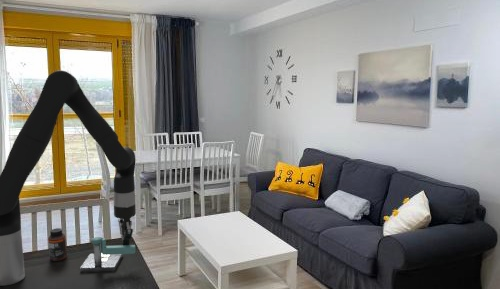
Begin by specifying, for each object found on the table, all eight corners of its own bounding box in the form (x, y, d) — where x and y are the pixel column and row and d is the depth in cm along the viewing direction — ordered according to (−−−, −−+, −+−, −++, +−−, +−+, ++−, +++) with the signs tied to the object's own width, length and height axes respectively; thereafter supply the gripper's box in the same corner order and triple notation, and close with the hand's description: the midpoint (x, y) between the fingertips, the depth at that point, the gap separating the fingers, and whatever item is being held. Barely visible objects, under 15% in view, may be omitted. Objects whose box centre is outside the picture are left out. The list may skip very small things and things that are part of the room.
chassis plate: (79, 272, 141) (78, 245, 140) (90, 257, 153) (89, 232, 151) (114, 271, 142) (113, 244, 141) (122, 256, 154) (121, 231, 152)
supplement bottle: (62, 253, 156) (60, 225, 154) (69, 257, 152) (68, 229, 151) (46, 258, 152) (44, 230, 150) (54, 263, 148) (52, 234, 146)
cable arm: (93, 251, 144) (92, 237, 143) (135, 250, 145) (135, 236, 145) (90, 256, 140) (89, 241, 139) (133, 255, 141) (133, 240, 141)
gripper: (110, 199, 147) (111, 243, 150) (117, 209, 135) (119, 257, 138) (130, 196, 150) (131, 239, 153) (139, 206, 139) (140, 253, 142)
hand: (126, 248), depth 146 cm, fingers closed
